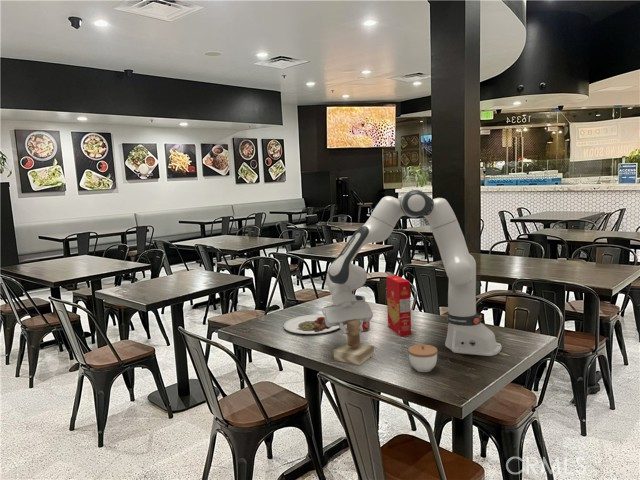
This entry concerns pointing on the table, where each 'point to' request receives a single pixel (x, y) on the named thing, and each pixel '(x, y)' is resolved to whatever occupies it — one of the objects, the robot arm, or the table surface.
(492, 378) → the table surface
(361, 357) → the birch riser
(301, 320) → the plated food
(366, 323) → the soda can
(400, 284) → the food packaging
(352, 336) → the walnut cylinder
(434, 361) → the lidded jar
